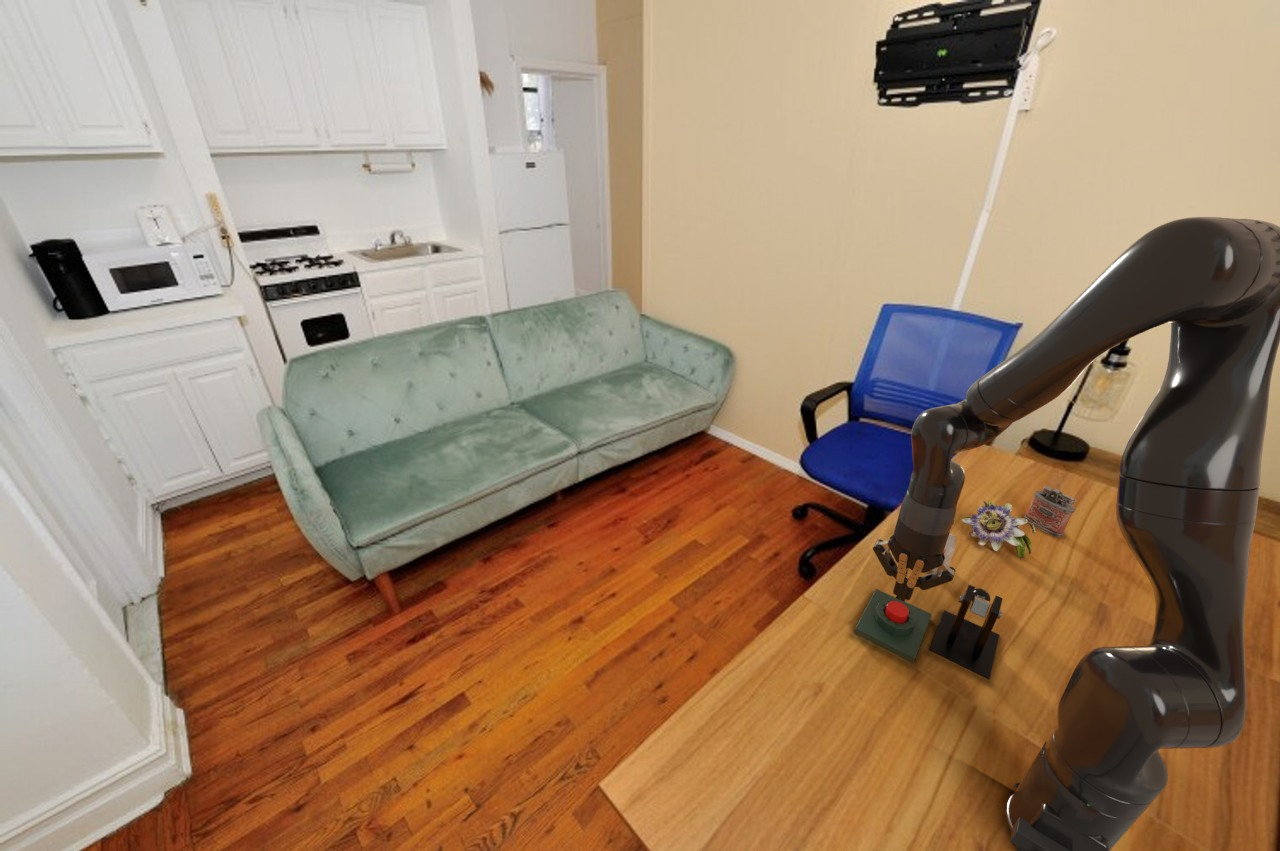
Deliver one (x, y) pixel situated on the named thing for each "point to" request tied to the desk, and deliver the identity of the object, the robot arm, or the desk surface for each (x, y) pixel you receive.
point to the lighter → (1050, 511)
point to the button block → (893, 627)
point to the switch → (980, 602)
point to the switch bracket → (968, 637)
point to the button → (896, 612)
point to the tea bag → (948, 550)
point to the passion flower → (999, 528)
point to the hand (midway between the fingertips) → (901, 597)
